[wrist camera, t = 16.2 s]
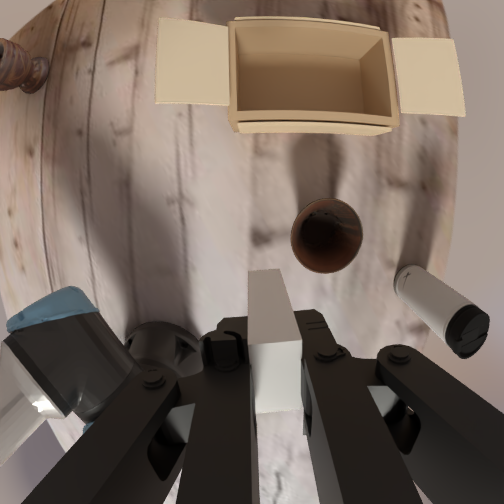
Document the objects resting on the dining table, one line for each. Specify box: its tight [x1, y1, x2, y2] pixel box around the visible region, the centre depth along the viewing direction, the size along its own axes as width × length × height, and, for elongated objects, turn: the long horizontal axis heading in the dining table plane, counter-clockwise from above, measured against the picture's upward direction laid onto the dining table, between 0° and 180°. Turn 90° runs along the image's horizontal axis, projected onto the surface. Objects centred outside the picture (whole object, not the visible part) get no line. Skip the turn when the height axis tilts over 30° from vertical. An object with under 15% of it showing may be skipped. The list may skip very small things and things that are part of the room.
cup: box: [291, 198, 363, 274], centre depth 39 cm, size 9×9×10 cm
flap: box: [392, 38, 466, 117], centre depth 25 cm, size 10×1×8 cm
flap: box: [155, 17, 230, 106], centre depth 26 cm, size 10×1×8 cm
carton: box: [226, 16, 400, 136], centre depth 34 cm, size 20×14×10 cm
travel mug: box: [394, 264, 490, 359], centre depth 36 cm, size 6×7×20 cm
